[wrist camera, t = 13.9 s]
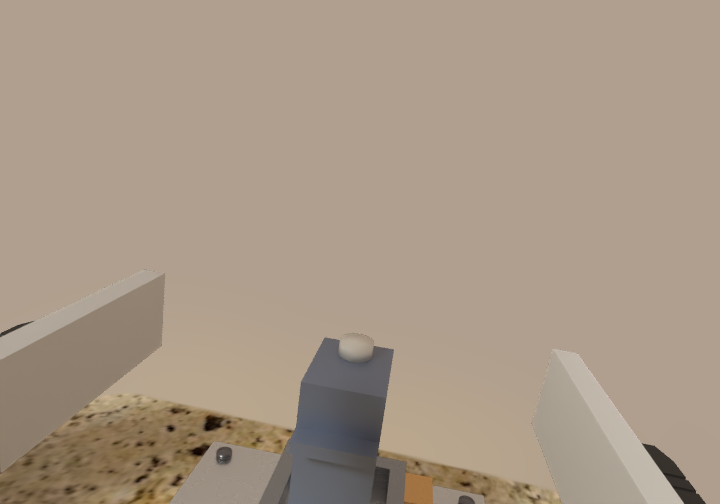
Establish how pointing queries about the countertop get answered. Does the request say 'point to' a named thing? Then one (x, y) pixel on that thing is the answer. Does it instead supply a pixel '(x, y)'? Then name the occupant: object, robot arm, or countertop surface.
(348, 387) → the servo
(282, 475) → the chassis
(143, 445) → the countertop surface
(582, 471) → the robot arm
